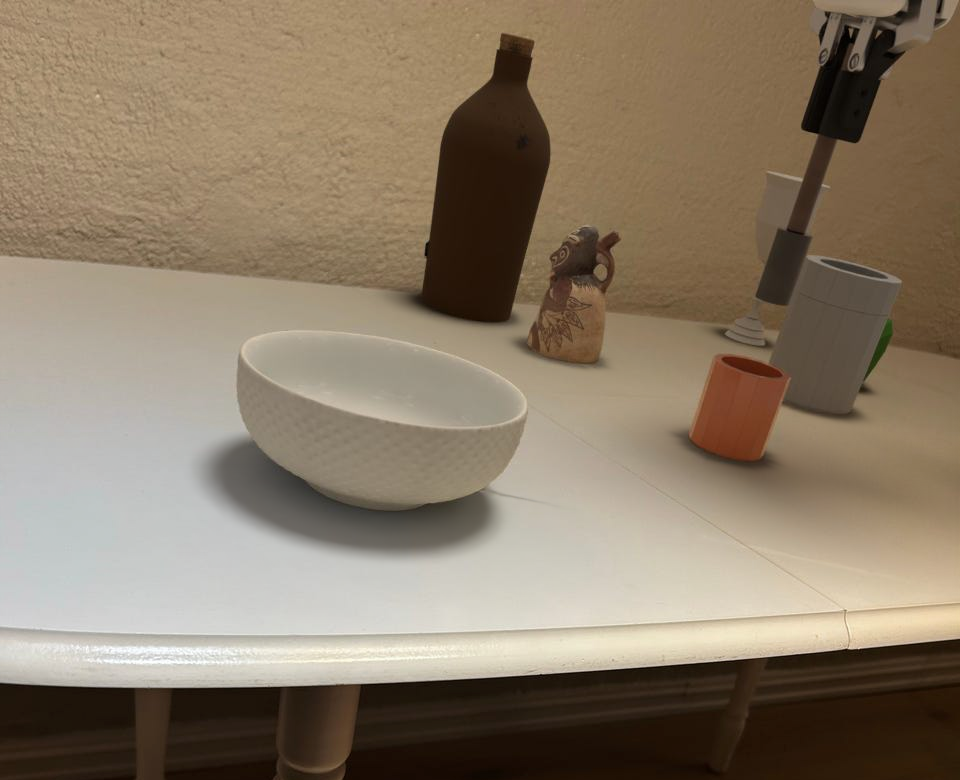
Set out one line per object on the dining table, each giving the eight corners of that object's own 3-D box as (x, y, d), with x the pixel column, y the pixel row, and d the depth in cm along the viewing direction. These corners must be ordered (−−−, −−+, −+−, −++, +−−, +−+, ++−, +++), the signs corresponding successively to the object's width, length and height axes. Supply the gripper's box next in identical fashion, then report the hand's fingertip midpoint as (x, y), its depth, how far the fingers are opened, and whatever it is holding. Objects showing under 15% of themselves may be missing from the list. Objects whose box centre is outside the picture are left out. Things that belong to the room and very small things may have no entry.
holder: (752, 446, 87) (781, 364, 83) (766, 472, 82) (798, 386, 78) (682, 431, 87) (709, 348, 83) (692, 456, 81) (721, 369, 78)
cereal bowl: (559, 522, 64) (588, 413, 61) (346, 571, 53) (367, 440, 50) (385, 421, 74) (401, 321, 70) (173, 444, 62) (180, 327, 59)
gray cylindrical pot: (836, 397, 108) (885, 270, 102) (859, 425, 100) (914, 288, 94) (752, 379, 108) (797, 249, 101) (769, 405, 100) (819, 266, 93)
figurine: (537, 338, 103) (566, 212, 98) (604, 359, 102) (638, 231, 96) (515, 351, 97) (545, 217, 91) (587, 373, 96) (622, 238, 90)
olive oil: (534, 321, 110) (594, 54, 97) (477, 330, 101) (536, 40, 89) (453, 291, 114) (502, 32, 102) (393, 298, 106) (438, 17, 93)
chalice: (711, 337, 122) (763, 172, 113) (717, 327, 127) (767, 169, 118) (772, 354, 120) (829, 189, 111) (776, 343, 126) (831, 185, 117)
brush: (784, 301, 79) (872, 49, 71) (792, 308, 77) (883, 50, 69) (751, 293, 79) (835, 40, 71) (758, 300, 77) (845, 40, 68)
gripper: (1083, -183, 59) (944, 166, 68) (905, -164, 71) (807, 130, 80) (985, -225, 56) (854, 145, 65) (817, -198, 68) (726, 111, 77)
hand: (829, 135), depth 72 cm, fingers closed on brush, 1 cm apart
